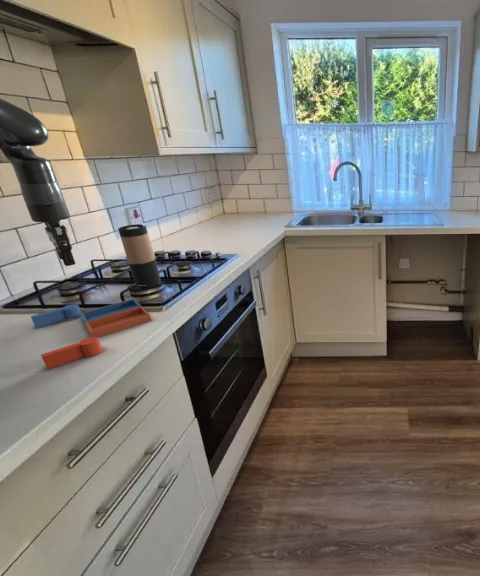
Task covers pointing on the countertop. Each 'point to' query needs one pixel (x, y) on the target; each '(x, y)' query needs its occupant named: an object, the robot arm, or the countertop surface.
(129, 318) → the terracotta tray
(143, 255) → the travel mug
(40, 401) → the countertop surface
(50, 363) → the orange elongated piece
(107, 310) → the blue tray
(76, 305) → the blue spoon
